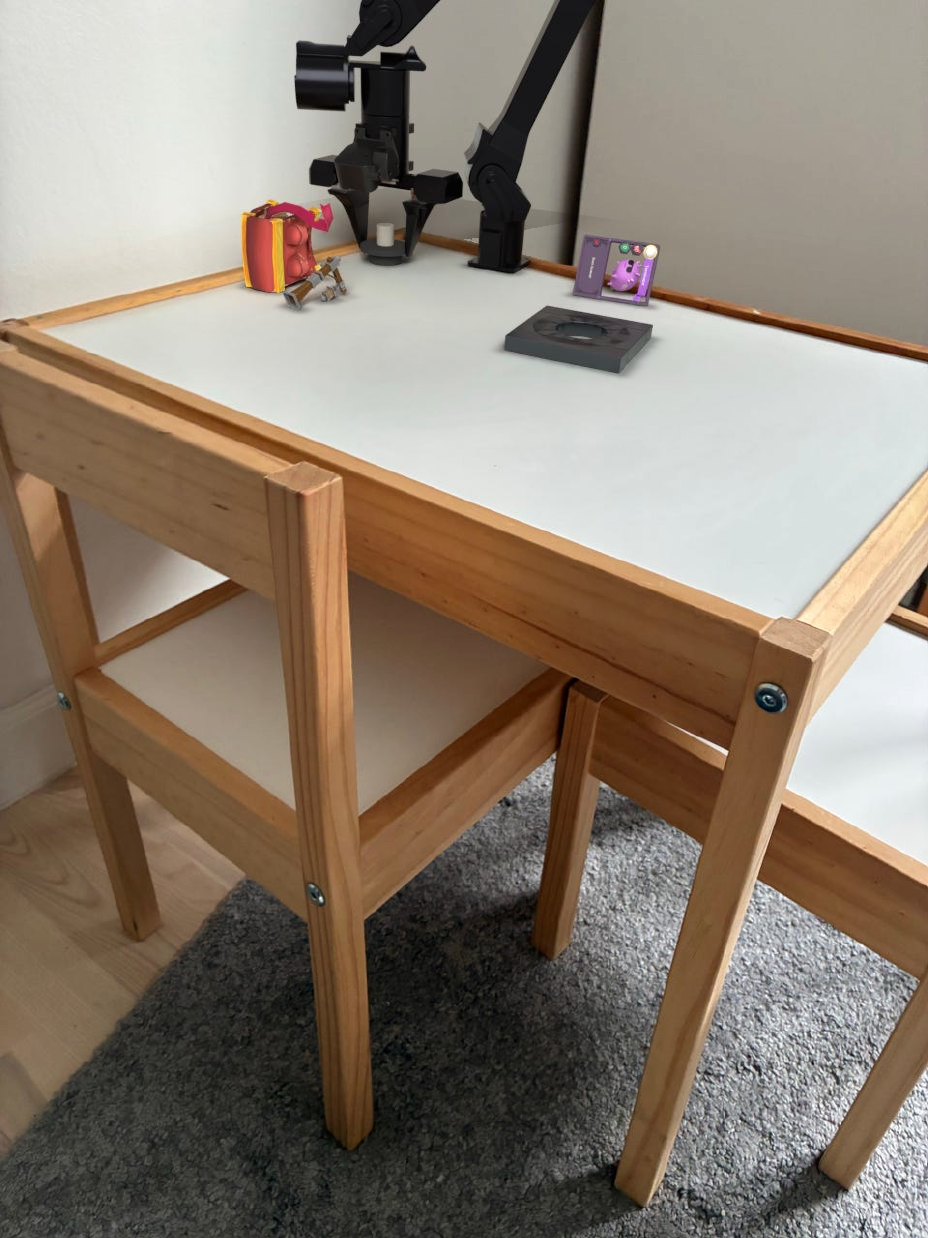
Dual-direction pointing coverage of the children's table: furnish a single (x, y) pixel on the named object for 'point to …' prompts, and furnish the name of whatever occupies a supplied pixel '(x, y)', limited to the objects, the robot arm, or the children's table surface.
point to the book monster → (280, 244)
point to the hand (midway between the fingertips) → (385, 252)
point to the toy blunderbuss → (317, 283)
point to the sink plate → (553, 341)
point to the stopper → (384, 246)
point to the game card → (624, 274)
